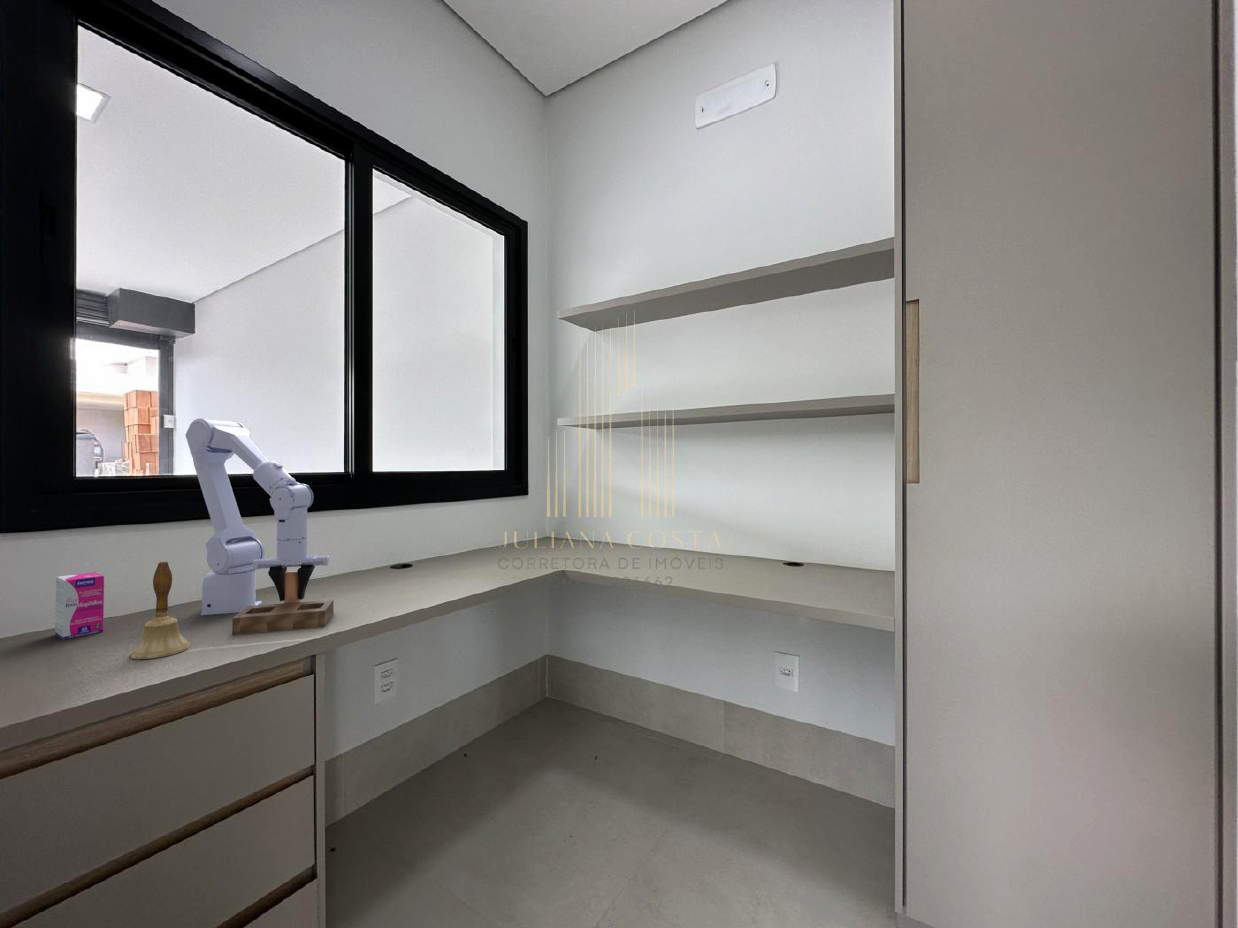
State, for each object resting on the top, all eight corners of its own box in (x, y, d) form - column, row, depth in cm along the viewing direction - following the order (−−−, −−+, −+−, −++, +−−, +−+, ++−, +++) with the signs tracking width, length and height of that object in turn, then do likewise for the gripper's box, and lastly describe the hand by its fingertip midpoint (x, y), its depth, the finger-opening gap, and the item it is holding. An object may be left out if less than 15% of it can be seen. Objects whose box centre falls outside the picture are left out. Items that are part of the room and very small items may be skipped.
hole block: (232, 635, 101) (232, 617, 101) (248, 622, 110) (248, 605, 110) (325, 627, 107) (325, 610, 107) (333, 615, 115) (333, 599, 115)
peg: (282, 614, 114) (282, 573, 114) (286, 611, 117) (286, 571, 117) (298, 613, 115) (298, 572, 115) (301, 609, 118) (301, 570, 118)
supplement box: (62, 640, 99) (62, 580, 99) (54, 634, 102) (54, 576, 102) (104, 632, 104) (104, 574, 104) (95, 626, 107) (95, 571, 107)
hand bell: (166, 641, 98) (166, 557, 98) (202, 644, 96) (202, 559, 96) (116, 658, 90) (116, 565, 90) (155, 661, 88) (155, 567, 88)
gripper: (247, 542, 110) (247, 606, 110) (325, 539, 115) (325, 600, 115) (258, 538, 117) (258, 598, 117) (331, 535, 122) (331, 593, 122)
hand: (292, 599), depth 116 cm, fingers closed on peg, 3 cm apart
